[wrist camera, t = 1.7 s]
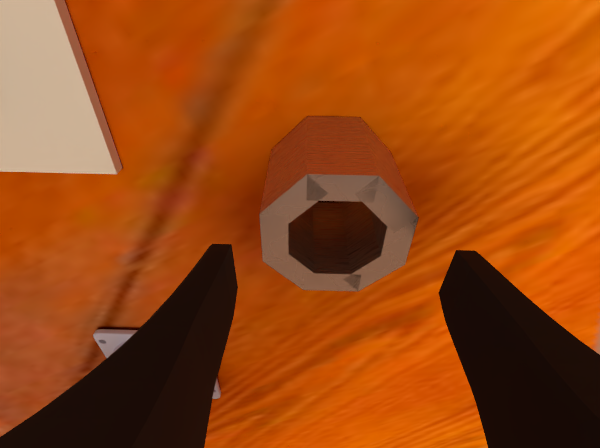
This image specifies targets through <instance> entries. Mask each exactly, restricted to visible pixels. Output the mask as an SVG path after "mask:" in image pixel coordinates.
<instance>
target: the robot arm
mask: <svg viewBox="0 0 600 448" xmlns="http://www.w3.org/2000/svg"><path fill="white" fill-rule="evenodd" d="M237 288H238V286H237V280H236V273H235V266H234V259H233V252H232V246H231V244H212V245H211V246H210V247H209V248H208V249H207V251H206V252H205V253H204V255H203V256H202V257H201V259H200V260H199V261H198V263H197V264H196V265H195V267H194V268H193V269H192V270H191V272H190V273H189V274H188V276H187V277H186V278H185V279H184V280H183V282H182V283H181V284H180V285H179V286H178V288H177V289H176V290H175V291H174V292H173V294H172V295H171V296H170V297H169V298H168V299H167V300H166V301H165V302H164V304H163V305H162V306H161V307H160V308H159V309H158V310H157V311H156V312H155V313H154V314H153V315H152V317H151V318H150V319H149V320H148V321H147V322H146V323H145V324H144V325H143V326H142V327H141V328H140V329H139V330H113V329H98V330H96V331H95V333H94V335H93V337H94V339H95V340H96V342H97V344H98V345H99V347H100V348H101V350H102V352H103V353H104V355H105V356H106V358H107V359H106V360H104V361H103V362H102V363H101V364H100V365H99V366H97V367H96V368H95V369H94V370H92V371H91V372H90V373H89V374H88V375H86V376H85V377H84V378H83V379H81V380H80V381H79V382H77V383H76V384H75V385H73V386H72V387H71V388H69V389H68V390H67V391H65V392H64V393H63V394H61V395H60V396H59V397H57V398H56V399H55V400H53V401H52V402H51V403H49V404H48V405H47V406H45V407H44V408H43V409H41V410H40V411H38V412H37V413H36V414H34V415H33V416H31V417H30V418H28V419H27V420H25V421H24V422H22V423H21V424H19V425H18V426H16V427H15V428H13V429H12V430H10V431H9V432H7V433H6V434H4V435H3V436H1V437H0V448H204V445H205V439H206V432H207V426H208V420H209V414H210V409H211V403H212V399H218V398H220V395H221V391H220V387H219V383H218V380H217V376H218V372H219V368H220V365H221V361H222V357H223V353H224V350H225V346H226V342H227V339H228V335H229V331H230V327H231V324H232V320H233V316H234V309H235V303H236V295H237ZM439 296H440V300H441V305H442V309H443V313H444V317H445V321H446V324H447V327H448V330H449V332H450V335H451V338H452V340H453V343H454V345H455V348H456V351H457V353H458V356H459V358H460V361H461V363H462V366H463V369H464V371H465V374H466V376H467V379H468V382H469V384H470V387H471V389H472V392H473V395H474V398H475V401H476V404H477V408H478V411H479V415H480V419H481V422H482V426H483V429H484V433H485V437H486V441H487V445H488V448H600V355H599V354H598V353H596V352H595V351H594V350H592V349H591V348H589V347H588V346H587V345H585V344H584V343H582V342H581V341H580V340H579V339H577V338H576V337H575V336H573V335H572V334H571V333H569V332H568V331H567V330H566V329H564V328H563V327H562V326H561V325H559V324H558V323H557V322H556V321H555V320H553V319H552V318H551V317H550V316H548V315H547V314H546V313H545V312H544V311H542V310H541V309H540V308H539V307H538V306H537V305H535V304H534V303H533V302H532V301H531V300H530V299H528V298H527V297H526V296H525V295H524V294H523V293H522V292H521V291H519V290H518V289H517V288H516V287H515V286H514V285H513V284H512V283H511V282H509V281H508V280H507V279H506V278H505V277H504V276H503V275H502V274H501V273H500V272H499V271H497V270H496V269H495V268H494V267H493V266H492V265H491V264H490V263H489V262H488V261H486V260H485V259H484V258H483V257H482V256H481V255H480V254H478V253H477V252H476V251H463V250H456V252H455V254H454V257H453V259H452V262H451V264H450V267H449V269H448V271H447V274H446V276H445V279H444V281H443V284H442V286H441V289H440V291H439Z"/></svg>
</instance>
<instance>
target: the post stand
mask: <svg viewBox="0 0 600 448" xmlns="http://www.w3.org/2000/svg"><path fill="white" fill-rule="evenodd" d="M121 169H122V165H121V162H120V159H119V156H118V153H117V151H116V148H115V145H114V142H113V139H112V136H111V133H110V130H109V127H108V125H107V122H106V119H105V116H104V113H103V110H102V107H101V104H100V101H99V98H98V96H97V93H96V90H95V87H94V84H93V81H92V78H91V75H90V72H89V70H88V67H87V64H86V61H85V58H84V55H83V52H82V49H81V46H80V43H79V41H78V38H77V35H76V32H75V29H74V26H73V23H72V20H71V17H70V15H69V12H68V9H67V6H66V3H65V0H0V171H6V172H49V173H92V174H117V173H118V172H119V171H120V170H121Z"/></svg>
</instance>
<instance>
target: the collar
mask: <svg viewBox="0 0 600 448" xmlns="http://www.w3.org/2000/svg"><path fill="white" fill-rule="evenodd" d="M318 201H343V202H342V203H325V202H318ZM259 216H260V230H261V243H262V257H263V262H265V263H266V264H267V265H269V266H270V267H272V268H273V269H275V270H276V271H277V272H279V273H280V274H282V275H283V276H284V277H286V278H287V279H289V280H290V281H292V282H293V283H294V284H296V285H297V286H299V287H300V288H301V289H303V290H327V291H360V290H361V289H363V288H365V287H367V286H368V285H370V284H372V283H374V282H375V281H377V280H379V279H381V278H382V277H384V276H386V275H388V274H389V273H391V272H393V271H395V270H396V269H398V268H400V267H402V266H403V265H405V263H406V259H407V256H408V252H409V249H410V245H411V242H412V238H413V235H414V232H415V228H416V225H417V221H418V215H417V213H416V210H415V208H414V206H413V203H412V201H411V199H410V196H409V194H408V192H407V189H406V187H405V185H404V182H403V180H402V177H401V175H400V173H399V170H398V168H397V166H396V163H395V161H394V159H393V156H392V154H391V152H390V151H389V150H388V148H387V147H386V146H385V145H384V144H383V143H382V142H381V140H380V139H379V138H378V137H377V136H376V135H375V134H374V132H373V131H372V130H371V129H370V128H369V127H368V126H367V124H366V123H365V122H364V121H363V120H362V119H361V118H360V117H329V116H307V117H306V118H305V119H304V120H303V121H302V122H300V123H299V124H298V125H297V126H296V127H295V128H294V129H293V130H292V131H291V132H290V133H289V134H288V135H287V136H285V137H284V138H283V139H282V140H281V141H280V142H279V143H278V144H277V145H276V146H275V147H274V148H273V149H272V150H271V155H270V160H269V166H268V171H267V176H266V181H265V187H264V192H263V197H262V203H261V208H260V213H259Z"/></svg>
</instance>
